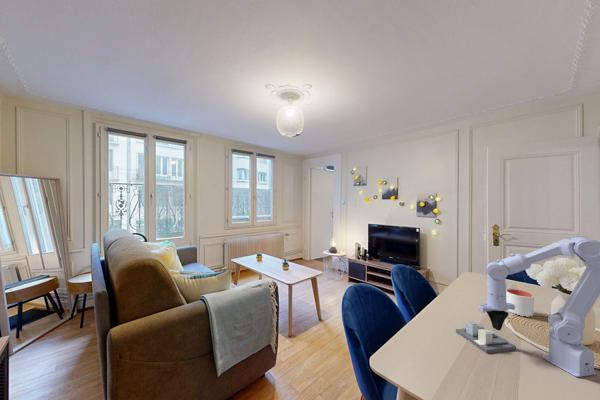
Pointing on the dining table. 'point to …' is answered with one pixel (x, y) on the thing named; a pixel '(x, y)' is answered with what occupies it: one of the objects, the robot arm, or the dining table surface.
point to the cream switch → (485, 336)
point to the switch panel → (496, 345)
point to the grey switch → (472, 328)
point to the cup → (520, 302)
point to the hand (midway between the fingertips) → (496, 328)
